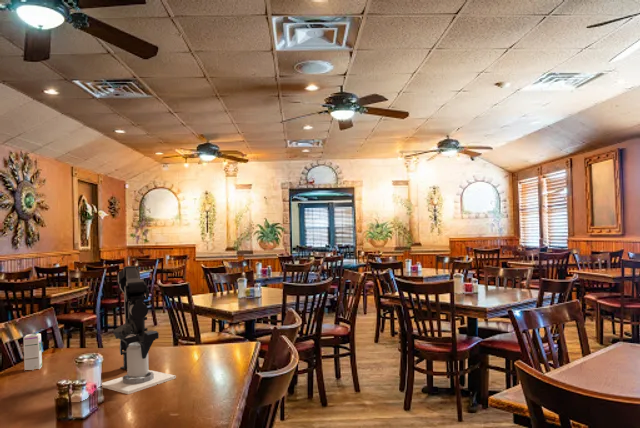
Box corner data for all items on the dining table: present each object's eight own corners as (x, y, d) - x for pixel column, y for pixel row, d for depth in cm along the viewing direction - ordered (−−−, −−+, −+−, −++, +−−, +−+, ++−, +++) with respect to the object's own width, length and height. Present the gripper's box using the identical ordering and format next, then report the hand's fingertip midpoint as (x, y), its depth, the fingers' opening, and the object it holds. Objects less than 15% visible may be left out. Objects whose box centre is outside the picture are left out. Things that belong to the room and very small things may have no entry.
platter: (99, 386, 173) (99, 379, 174) (147, 372, 190) (146, 365, 190) (128, 394, 163) (128, 386, 163) (176, 378, 180) (175, 371, 180)
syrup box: (40, 369, 201) (39, 335, 202) (23, 371, 199) (23, 336, 199) (42, 366, 206) (41, 332, 207) (26, 368, 204) (26, 334, 205)
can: (141, 378, 172) (140, 345, 173) (123, 378, 174) (122, 345, 174) (152, 372, 180) (151, 340, 180) (134, 372, 181) (134, 340, 182)
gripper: (102, 317, 176) (103, 359, 176) (132, 320, 166) (133, 366, 165) (129, 312, 185) (130, 352, 185) (159, 315, 175) (160, 358, 174)
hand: (137, 357), depth 177 cm, fingers closed on can, 7 cm apart
